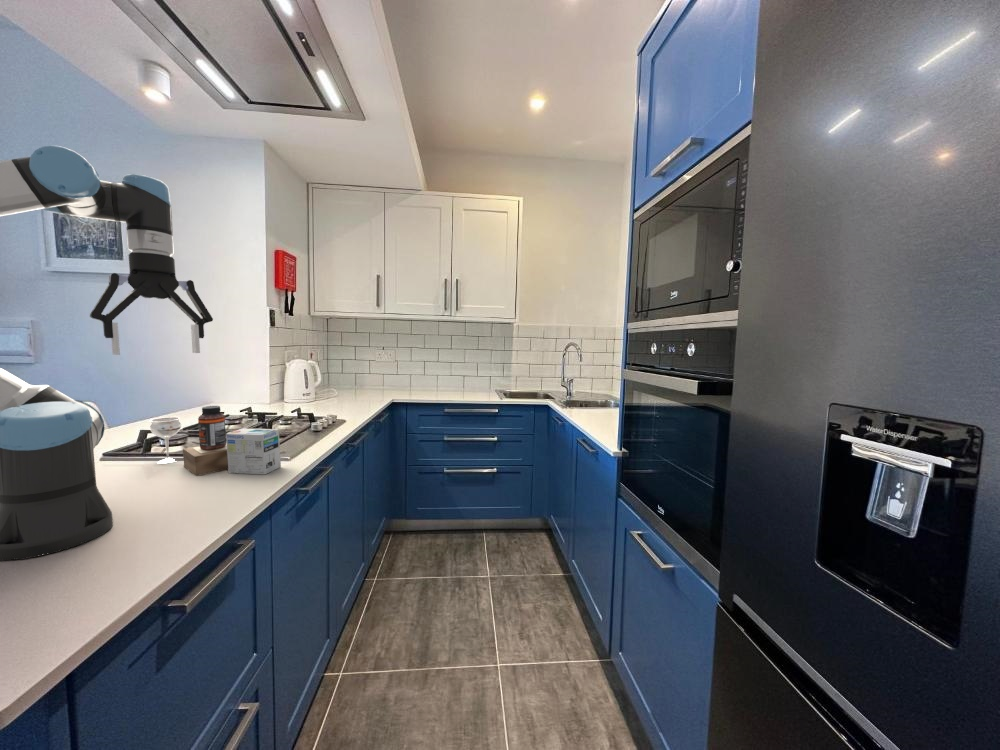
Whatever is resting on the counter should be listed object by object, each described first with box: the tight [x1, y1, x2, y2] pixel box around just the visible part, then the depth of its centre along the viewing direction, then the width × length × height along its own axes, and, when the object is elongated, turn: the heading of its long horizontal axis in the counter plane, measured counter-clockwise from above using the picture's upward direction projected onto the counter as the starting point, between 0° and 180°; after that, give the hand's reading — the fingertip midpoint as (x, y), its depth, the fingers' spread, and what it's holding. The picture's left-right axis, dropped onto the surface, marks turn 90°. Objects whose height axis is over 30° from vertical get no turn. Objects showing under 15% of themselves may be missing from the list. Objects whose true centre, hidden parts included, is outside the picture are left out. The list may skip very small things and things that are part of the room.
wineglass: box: [149, 416, 182, 464], centre depth 115 cm, size 7×7×12 cm
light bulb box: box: [226, 427, 282, 475], centre depth 108 cm, size 11×7×11 cm, turn 84°
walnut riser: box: [182, 442, 228, 477], centre depth 111 cm, size 11×11×5 cm
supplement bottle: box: [197, 405, 227, 450], centre depth 110 cm, size 6×6×11 cm
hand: (158, 353), depth 89 cm, fingers open, 13 cm apart
